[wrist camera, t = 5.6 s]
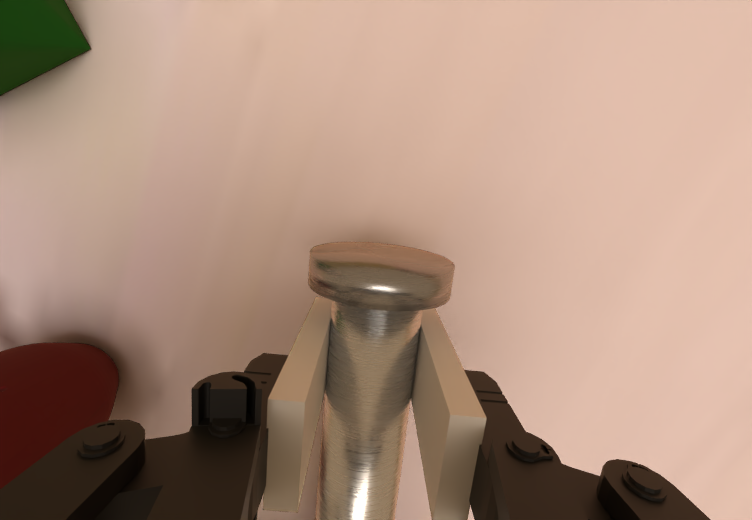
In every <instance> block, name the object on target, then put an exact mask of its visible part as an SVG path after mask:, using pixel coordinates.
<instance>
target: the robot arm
mask: <svg viewBox="0 0 752 520" xmlns="http://www.w3.org/2000/svg"><path fill="white" fill-rule="evenodd" d="M331 309H332V300H330V299H327V298H322V297H316V298H315V300H314V303H313V305H312V307H311V309H310V311H309V313H308V315H307V317H306V319H305V322H304V324H303V326H302V328H301V330H300V332H299V334H298V336H297V338H296V341H295V343H294V345H293V347H292V349H291V351H290V353H289V355H278V354H267V353H263V354H261V355H260V356H258V357H257V358H255V359H253V360H252V361H251V362H250V363H249V365H248V366H247V368H246V369H245V371H244V373H243V372H223V373H218V374H215V375H211V376H208V377H206V378H204V379H203V380H201V381H199V382H198V383H197V384H196V385H195V386H194V387H193V388H192V427H191V429H190V431H189V432H187V433H184V434H180V435H175V436H169V437H162V438H155V439H148V440H145V429H144V428H143V427H142V426H141V425H140V424H139V423H137V422H134V421H130V420H111V421H105V422H101V423H97V424H95V425H92V426H89V427H87V428H84V429H82V430H80V431H78V432H77V433H75V434H73V435H72V436H70V437H68V438H67V439H66V440H64V441H63V442H62V443H61V444H59V445H58V446H57V447H55V448H54V449H53V450H51V451H50V452H49V453H47V454H46V455H45V456H43V457H42V458H41V459H39V460H38V461H37V462H36V463H34V464H33V465H32V466H30V467H29V468H28V469H26V470H25V471H24V472H22V473H21V474H20V475H18V476H17V477H16V478H15V479H13V480H12V481H11V482H9V483H8V484H7V485H5V486H4V487H3V488H1V489H0V520H257V510H258V507H259V504H260V502H261V499H262V496H263V493H264V497H263V510H270V511H283V512H296V513H298V508H299V504H300V499H301V495H302V491H303V486H304V482H305V477H306V473H307V468H308V464H309V459H310V455H311V451H312V446H313V442H314V437H315V433H316V428H317V424H318V419H319V415H320V411H321V406H322V402H323V397H324V393H325V387H326V374H327V362H328V349H329V336H330V324H331ZM411 400H412V406H413V412H414V418H415V423H416V429H417V435H418V441H419V447H420V453H421V459H422V464H423V470H424V476H425V482H426V488H427V494H428V500H429V505H430V511H431V517H432V520H467V519H468V514H469V508H470V505H471V509H472V512H473V515H474V519H475V520H710V519H709V518H708V517H707V516H706V515H705V514H704V513H703V512H702V511H701V510H700V509H699V508H697V507H696V506H695V505H694V504H693V503H692V502H691V501H690V500H689V499H688V498H687V497H686V496H685V495H684V494H682V493H681V492H680V491H679V490H678V489H677V488H676V487H675V486H674V485H673V484H671V483H670V482H669V481H667V480H666V479H665V478H664V477H662V476H661V475H659V474H658V473H656V472H654V471H652V470H650V469H649V468H647V467H645V466H643V465H641V464H638V463H634V462H631V461H626V460H619V459H616V460H610V461H607V462H606V463H605V465H604V466H603V468H602V472H601V475H600V476H597V475H594V474H591V473H588V472H584V471H581V470H578V469H575V468H572V467H569V466H566V465H564V464H562V463H561V461H560V459H559V457H558V455H557V454H556V453H555V451H554V450H553V448H552V447H551V446H550V445H548V444H547V443H546V442H545V441H543V440H542V439H540V438H538V437H536V436H535V435H533V434H531V433H528V432H526V431H525V430H524V428H523V426H522V425H521V423H520V421H519V420H518V418H517V416H516V415H515V413H514V411H513V410H512V408H511V406H510V405H509V404H508V401H507V400H506V398H505V396H504V395H502V391H501V390H500V388H499V386H498V385H497V383H496V381H494V380H493V379H492V378H491V377H489V376H488V375H487V374H486V373H484V372H480V371H469V370H464V369H463V367H462V365H461V362H460V360H459V358H458V356H457V354H456V352H455V350H454V347H453V345H452V343H451V341H450V339H449V337H448V335H447V333H446V330H445V328H444V326H443V324H442V322H441V320H440V318H439V316H438V313H437V311H436V309H435V308H432V309H427V310H423V311H422V319H421V326H420V334H419V341H418V349H417V356H416V363H415V371H414V378H413V386H412V393H411Z"/></svg>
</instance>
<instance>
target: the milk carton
mask: <svg viewBox="0 0 752 520" xmlns="http://www.w3.org/2000/svg"><path fill="white" fill-rule="evenodd" d="M89 49H90V47H89V45H88V43H87V41H86V39H85V38H84V36H83V34H82V32H81V30H80V28H79V27H78V25H77V23H76V21H75V19H74V18H73V16H72V14H71V12H70V10H69V8H68V7H67V5H66V3H65V1H64V0H0V95H2V94H4V93H5V92H7V91H9V90H11V89H13V88H15V87H17V86H19V85H21V84H23V83H25V82H27V81H29V80H31V79H33V78H35V77H37V76H39V75H41V74H43V73H44V72H46V71H48V70H50V69H52V68H54V67H56V66H58V65H60V64H62V63H64V62H66V61H68V60H70V59H72V58H74V57H76V56H78V55H80V54H82V53H83V52H85V51H87V50H89Z"/></svg>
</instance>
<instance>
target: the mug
mask: <svg viewBox="0 0 752 520" xmlns="http://www.w3.org/2000/svg"><path fill="white" fill-rule="evenodd" d="M118 384H119V375H118V370H117V367H116V365H115V363H114V362H113V360H112V359H111V358H110V357H109V356H108V355H107V354H106V353H105V352H104V351H102V350H100V349H99V348H97V347H94V346H91V345H87V344H81V343H37V344H29V345H24V346H19V347H15V348H11V349H8V350H4V351H1V352H0V489H1V488H3V487H4V486H5V485H7V484H8V483H9V482H11V481H12V480H13V479H15V478H16V477H17V476H18V475H20V474H21V473H22V472H24V471H25V470H26V469H28V468H29V467H30V466H32V465H33V464H34V463H36V462H37V461H38V460H39V459H41V458H42V457H43V456H45V455H46V454H47V453H49V452H50V451H51V450H53V449H54V448H55V447H57V446H58V445H59V444H61V443H62V442H63V441H64V440H66V439H67V438H68V437H70V436H72V435H73V434H75V433H77V432H78V431H80V430H82V429H84V428H87V427H89V426H92V425H95V424H97V423H101V422H105V421H108V419H109V417H110V414H111V411H112V408H113V405H114V401H115V397H116V393H117V388H118Z"/></svg>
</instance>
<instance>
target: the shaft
mask: <svg viewBox="0 0 752 520" xmlns="http://www.w3.org/2000/svg"><path fill="white" fill-rule="evenodd" d="M454 268H455V265H454V263H453V262H452V261H450V260H449V259H447V258H445V257H443V256H440V255H437V254H434V253H431V252H428V251H424V250H420V249H415V248H410V247H404V246H398V245H391V244H382V243H369V242H336V243H327V244H322V245H318V246H315V247H313V248H312V249H311V250H310V262H309V278H308V284H309V286H310V288H311V289H312V290H313V291H314V292H316V293H317V294H319V295H321V296H323V297H325V298H327V299H330V300H332V309H331V324H330V336H329V349H328V362H327V374H326V387H325V399H324V412H323V425H322V438H321V451H320V464H319V477H318V490H317V503H316V516H315V520H394V519H395V512H396V505H397V497H398V490H399V482H400V475H401V467H402V460H403V453H404V445H405V438H406V430H407V423H408V415H409V408H410V401H411V393H412V386H413V378H414V371H415V363H416V356H417V349H418V341H419V334H420V326H421V319H422V311H423V310H427V309H432V308H436V307H439V306H442V305H444V304H445V303H447V302H448V301H449V299H450V295H451V288H452V282H453V275H454Z"/></svg>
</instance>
